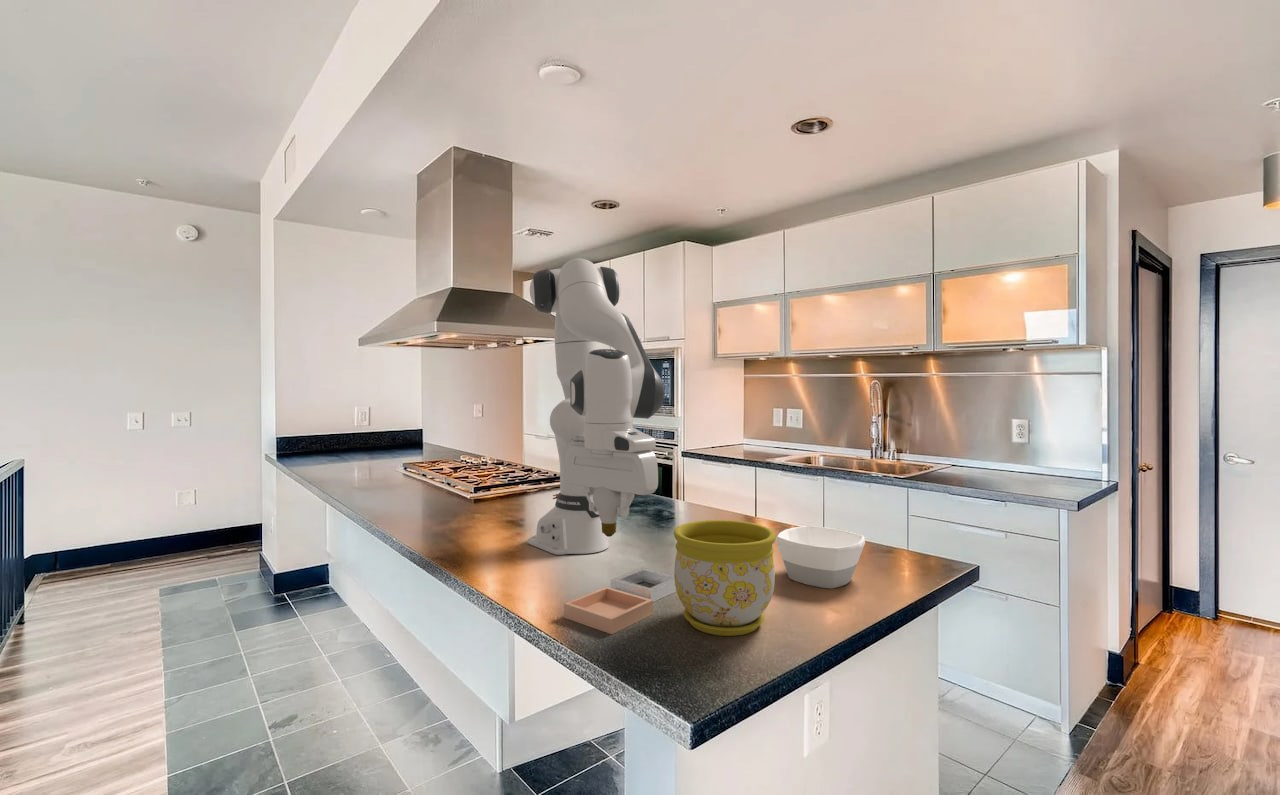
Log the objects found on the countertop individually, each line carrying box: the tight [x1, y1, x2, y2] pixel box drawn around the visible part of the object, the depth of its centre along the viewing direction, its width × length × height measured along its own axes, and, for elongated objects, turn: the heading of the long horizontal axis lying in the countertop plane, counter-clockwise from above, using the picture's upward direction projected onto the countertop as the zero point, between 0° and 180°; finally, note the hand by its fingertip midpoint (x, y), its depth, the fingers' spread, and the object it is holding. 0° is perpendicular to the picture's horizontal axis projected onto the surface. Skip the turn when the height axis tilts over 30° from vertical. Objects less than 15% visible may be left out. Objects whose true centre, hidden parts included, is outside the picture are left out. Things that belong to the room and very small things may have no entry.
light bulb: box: [593, 487, 624, 538], centre depth 111 cm, size 6×6×10 cm
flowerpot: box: [673, 519, 777, 637], centre depth 108 cm, size 18×18×16 cm
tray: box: [563, 586, 654, 635], centre depth 111 cm, size 12×12×3 cm
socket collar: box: [610, 567, 677, 603], centre depth 125 cm, size 10×10×2 cm
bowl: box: [775, 525, 866, 590], centre depth 132 cm, size 18×18×9 cm
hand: (608, 513), depth 111 cm, fingers closed on light bulb, 5 cm apart
